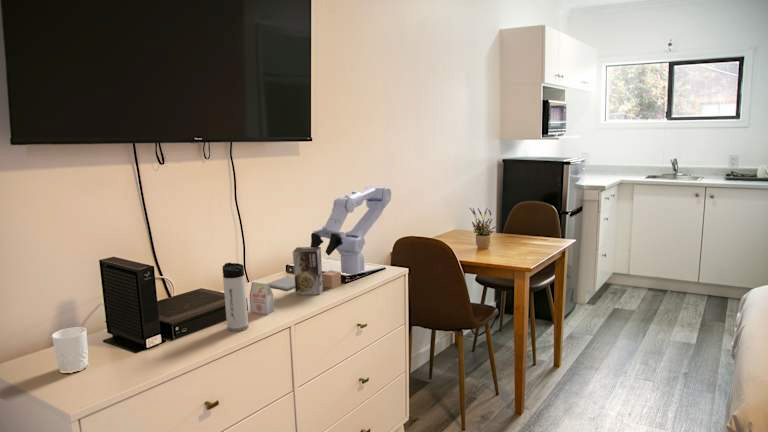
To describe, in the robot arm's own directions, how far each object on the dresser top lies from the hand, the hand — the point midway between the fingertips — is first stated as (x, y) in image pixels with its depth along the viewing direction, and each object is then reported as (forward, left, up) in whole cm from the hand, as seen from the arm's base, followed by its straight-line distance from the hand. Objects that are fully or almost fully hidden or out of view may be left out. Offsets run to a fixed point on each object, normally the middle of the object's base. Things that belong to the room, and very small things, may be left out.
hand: (319, 253), depth 209 cm
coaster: (+2, -15, -14) cm, 21 cm away
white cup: (+85, -11, -14) cm, 87 cm away
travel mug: (+43, +4, -14) cm, 45 cm away
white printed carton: (+29, 0, -14) cm, 32 cm away
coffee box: (+5, -1, -14) cm, 15 cm away
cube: (-5, +1, -14) cm, 15 cm away
